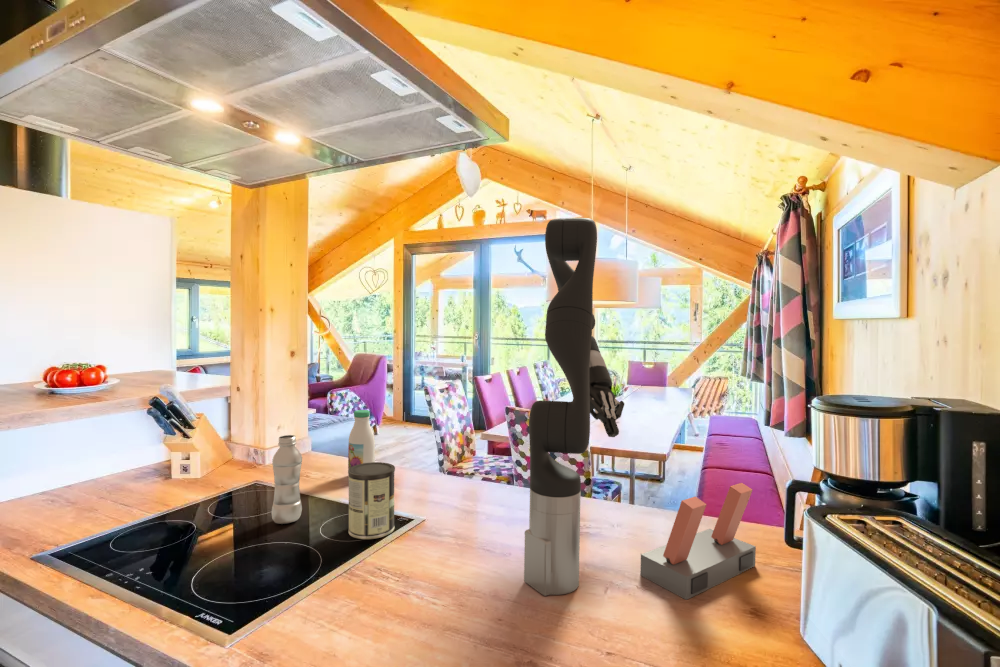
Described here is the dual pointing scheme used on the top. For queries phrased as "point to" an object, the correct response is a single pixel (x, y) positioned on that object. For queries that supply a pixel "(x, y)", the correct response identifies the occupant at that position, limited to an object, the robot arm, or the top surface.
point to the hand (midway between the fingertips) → (614, 435)
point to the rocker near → (684, 530)
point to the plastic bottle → (286, 481)
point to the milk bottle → (361, 440)
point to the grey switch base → (698, 565)
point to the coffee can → (371, 500)
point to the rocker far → (731, 513)
